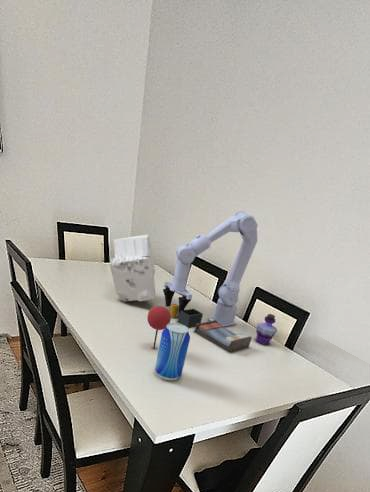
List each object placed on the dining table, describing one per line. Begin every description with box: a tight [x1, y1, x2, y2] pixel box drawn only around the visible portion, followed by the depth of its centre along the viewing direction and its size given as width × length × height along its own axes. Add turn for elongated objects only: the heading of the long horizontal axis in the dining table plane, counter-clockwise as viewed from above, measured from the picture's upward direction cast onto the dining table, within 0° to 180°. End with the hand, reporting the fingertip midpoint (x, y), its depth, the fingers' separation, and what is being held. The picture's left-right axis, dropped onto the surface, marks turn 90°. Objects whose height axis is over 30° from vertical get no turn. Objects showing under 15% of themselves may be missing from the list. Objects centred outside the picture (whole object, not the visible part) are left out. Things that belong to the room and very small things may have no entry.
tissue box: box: [109, 233, 157, 303], centre depth 163 cm, size 20×16×25 cm
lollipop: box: [147, 305, 172, 350], centre depth 129 cm, size 8×8×15 cm
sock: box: [169, 303, 179, 319], centre depth 160 cm, size 3×3×5 cm
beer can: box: [154, 322, 191, 382], centre depth 115 cm, size 8×8×16 cm
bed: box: [194, 320, 252, 354], centre depth 151 cm, size 12×19×4 cm, turn 44°
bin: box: [177, 308, 204, 328], centre depth 158 cm, size 8×6×5 cm
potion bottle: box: [255, 313, 279, 346], centre depth 156 cm, size 9×9×12 cm
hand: (173, 309), depth 160 cm, fingers open, 7 cm apart
